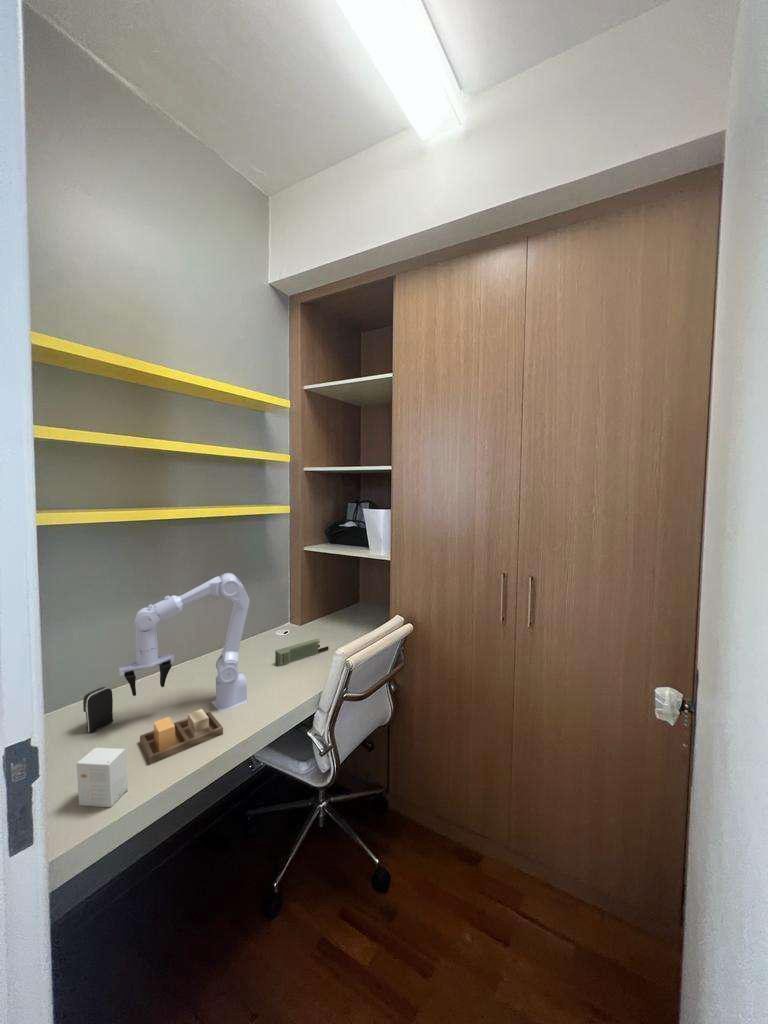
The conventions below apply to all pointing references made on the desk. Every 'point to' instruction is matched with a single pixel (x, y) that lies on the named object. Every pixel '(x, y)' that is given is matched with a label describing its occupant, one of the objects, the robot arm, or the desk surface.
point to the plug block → (164, 733)
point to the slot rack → (179, 739)
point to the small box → (102, 777)
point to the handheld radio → (297, 652)
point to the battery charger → (98, 708)
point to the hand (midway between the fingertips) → (148, 690)
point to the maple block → (198, 723)
